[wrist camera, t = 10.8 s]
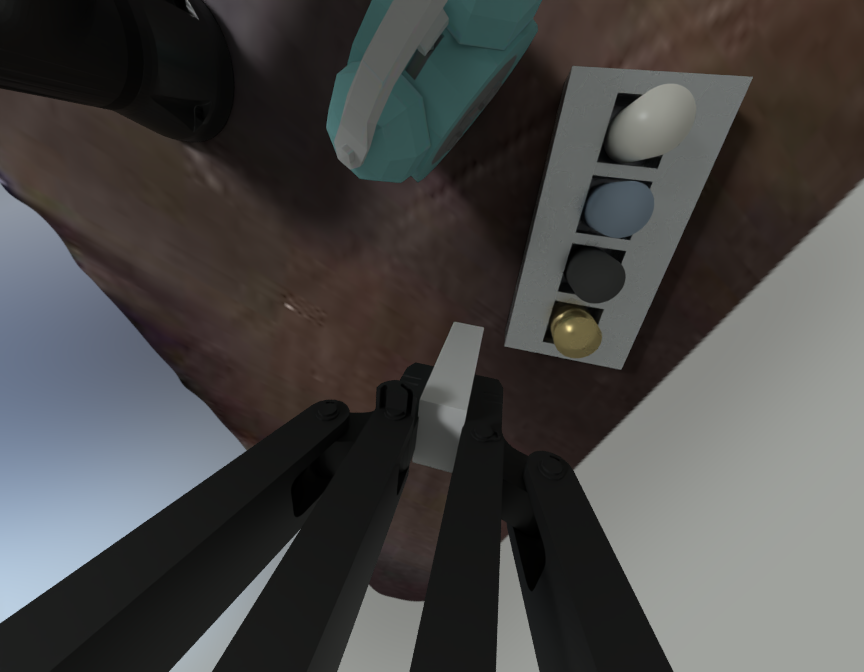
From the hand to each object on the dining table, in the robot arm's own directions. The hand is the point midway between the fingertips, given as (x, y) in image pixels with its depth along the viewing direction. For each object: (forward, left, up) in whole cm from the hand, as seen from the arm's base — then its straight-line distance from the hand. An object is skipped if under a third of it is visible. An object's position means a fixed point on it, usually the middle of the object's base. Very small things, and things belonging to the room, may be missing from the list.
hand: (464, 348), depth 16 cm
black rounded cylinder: (+10, +1, -23) cm, 25 cm away
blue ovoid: (+10, +7, -23) cm, 26 cm away
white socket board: (+10, +4, -24) cm, 27 cm away
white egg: (+10, +13, -22) cm, 27 cm away
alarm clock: (-7, +15, -25) cm, 30 cm away
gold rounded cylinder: (+10, -5, -23) cm, 25 cm away
